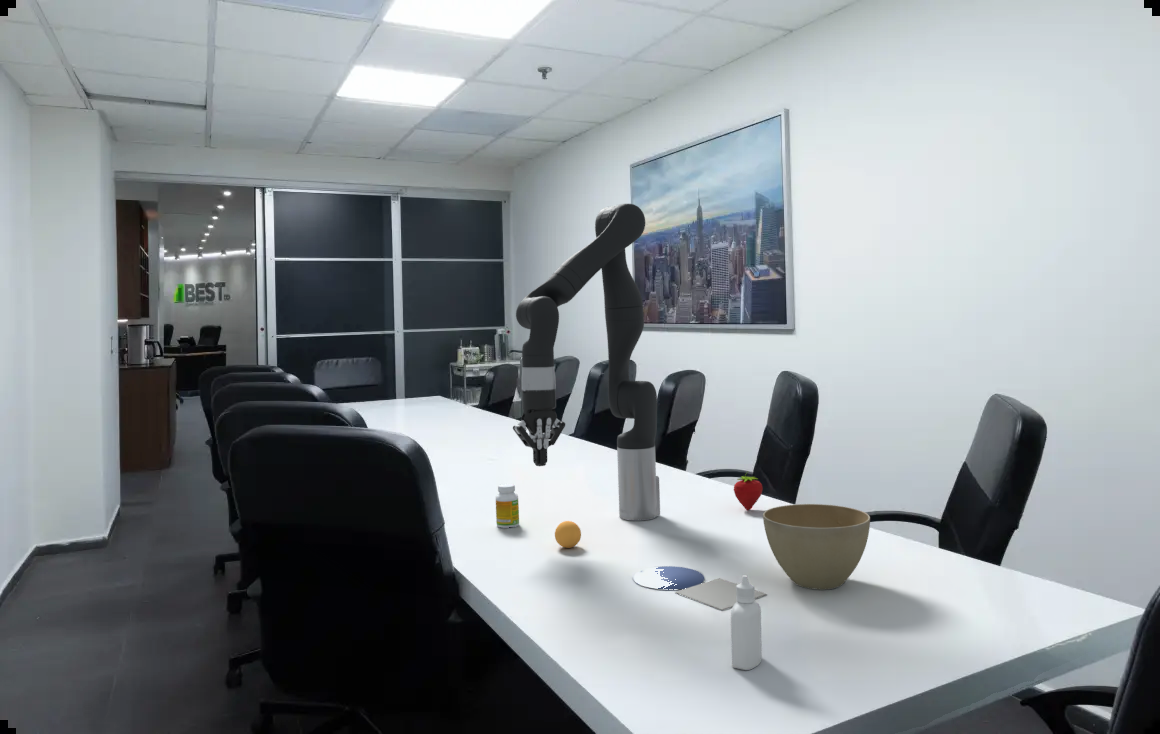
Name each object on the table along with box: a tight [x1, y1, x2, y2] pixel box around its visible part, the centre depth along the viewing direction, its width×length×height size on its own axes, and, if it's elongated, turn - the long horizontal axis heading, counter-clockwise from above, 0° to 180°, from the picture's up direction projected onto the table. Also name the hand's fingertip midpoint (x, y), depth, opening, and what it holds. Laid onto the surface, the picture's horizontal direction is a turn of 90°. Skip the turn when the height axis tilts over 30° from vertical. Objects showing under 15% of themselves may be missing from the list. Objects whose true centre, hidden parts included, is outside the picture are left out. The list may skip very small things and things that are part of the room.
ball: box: [554, 520, 582, 549], centre depth 163 cm, size 6×6×6 cm
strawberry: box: [733, 472, 764, 511], centre depth 190 cm, size 6×8×10 cm
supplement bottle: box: [495, 483, 520, 529], centre depth 183 cm, size 5×5×10 cm
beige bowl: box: [762, 503, 871, 590], centre depth 136 cm, size 18×18×12 cm
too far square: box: [675, 577, 768, 611], centre depth 131 cm, size 11×11×1 cm
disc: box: [655, 565, 705, 591], centre depth 141 cm, size 13×13×1 cm
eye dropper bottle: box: [730, 574, 763, 671], centre depth 104 cm, size 4×6×12 cm
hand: (540, 465), depth 170 cm, fingers closed
